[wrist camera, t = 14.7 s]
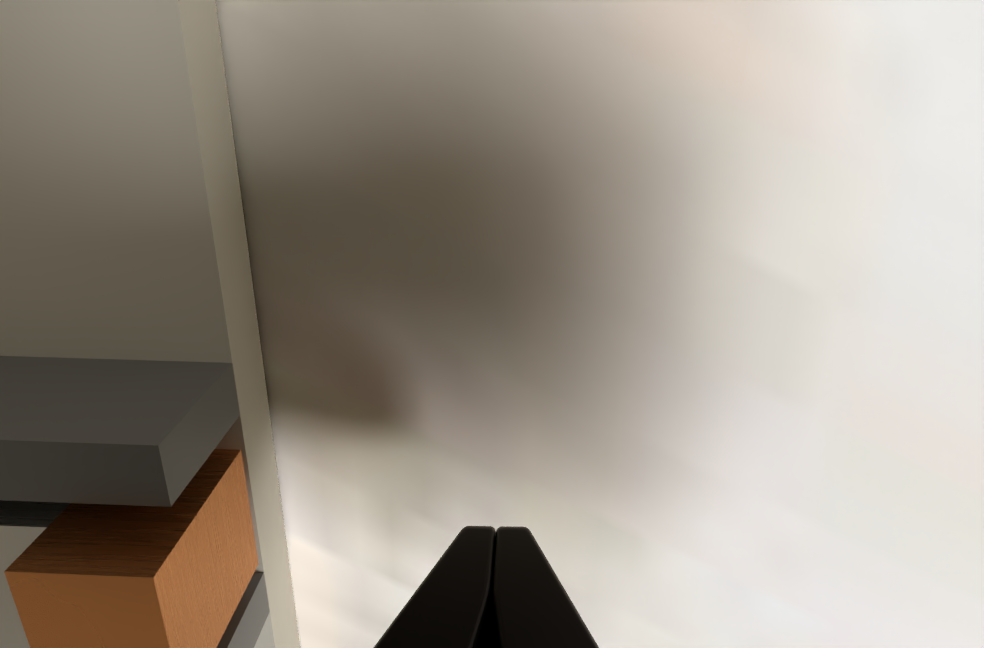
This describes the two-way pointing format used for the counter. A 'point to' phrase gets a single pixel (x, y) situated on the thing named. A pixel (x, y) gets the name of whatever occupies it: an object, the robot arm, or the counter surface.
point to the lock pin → (129, 567)
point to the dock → (130, 275)
